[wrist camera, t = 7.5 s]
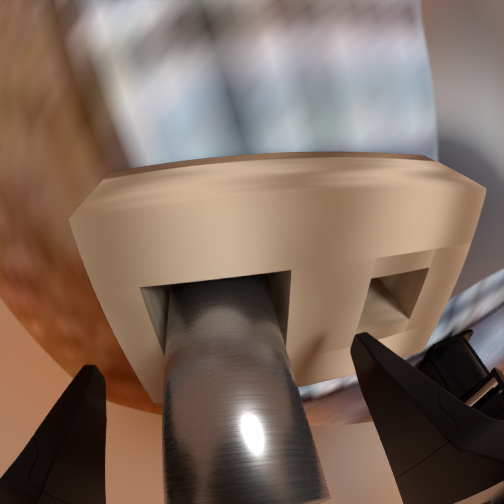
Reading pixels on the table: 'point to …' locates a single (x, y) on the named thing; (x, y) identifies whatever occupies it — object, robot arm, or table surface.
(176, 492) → the peg
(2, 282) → the table surface
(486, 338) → the table surface
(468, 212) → the bore block
